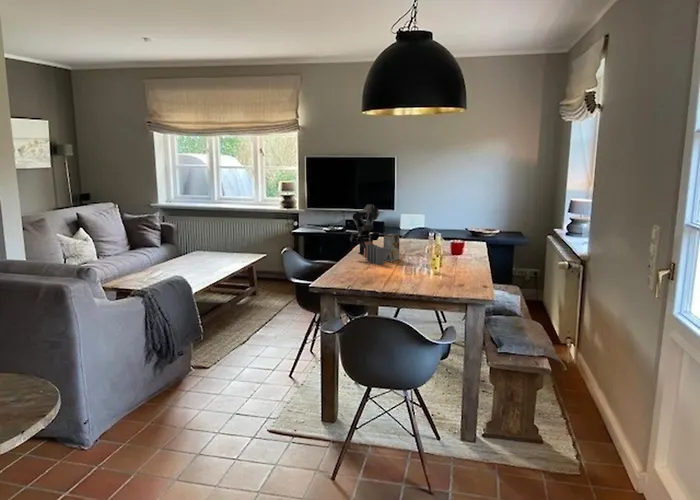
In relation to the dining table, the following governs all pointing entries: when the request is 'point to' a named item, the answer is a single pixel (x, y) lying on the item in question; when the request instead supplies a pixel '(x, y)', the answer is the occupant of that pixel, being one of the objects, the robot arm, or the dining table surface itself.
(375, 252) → the domino
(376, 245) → the domino
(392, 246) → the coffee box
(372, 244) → the domino
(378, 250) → the domino
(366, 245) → the loose domino
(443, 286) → the dining table surface
